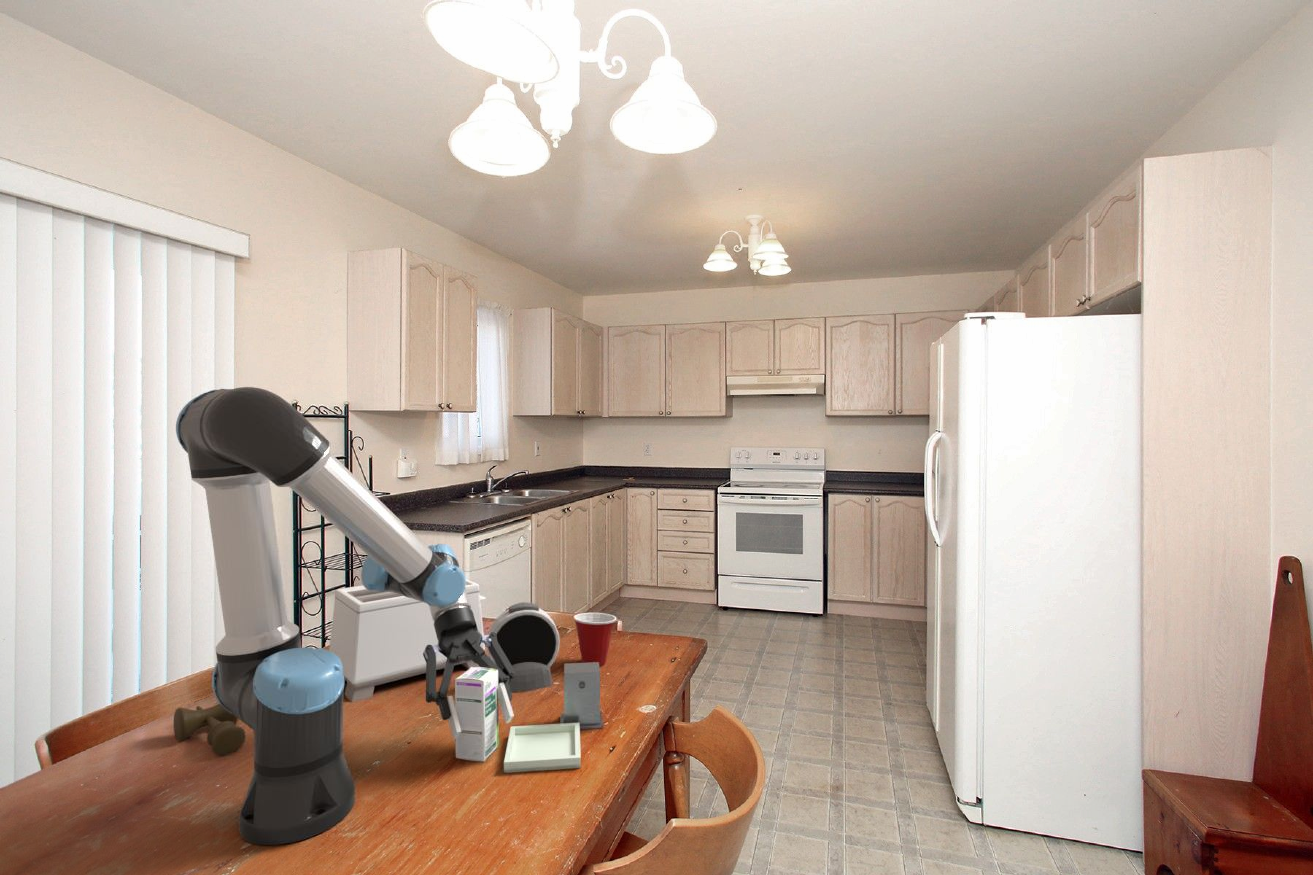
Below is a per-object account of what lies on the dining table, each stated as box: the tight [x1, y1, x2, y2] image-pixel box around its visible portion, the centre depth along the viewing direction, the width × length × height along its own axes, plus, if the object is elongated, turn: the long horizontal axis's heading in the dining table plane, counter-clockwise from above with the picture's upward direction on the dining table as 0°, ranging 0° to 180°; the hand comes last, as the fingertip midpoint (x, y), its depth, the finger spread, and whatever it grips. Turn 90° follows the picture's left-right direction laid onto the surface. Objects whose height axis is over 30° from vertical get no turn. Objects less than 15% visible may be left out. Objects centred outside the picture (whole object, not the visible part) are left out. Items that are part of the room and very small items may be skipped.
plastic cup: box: [573, 612, 617, 668], centre depth 156 cm, size 11×11×12 cm
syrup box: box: [454, 667, 500, 763], centre depth 112 cm, size 6×6×14 cm
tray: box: [503, 723, 582, 774], centre depth 113 cm, size 13×13×2 cm
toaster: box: [328, 578, 486, 703], centre depth 151 cm, size 19×34×21 cm, turn 132°
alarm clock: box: [486, 601, 561, 693], centre depth 143 cm, size 16×10×18 cm, turn 109°
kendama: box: [173, 703, 246, 757], centre depth 117 cm, size 6×10×20 cm
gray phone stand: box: [559, 662, 604, 730], centre depth 124 cm, size 8×6×11 cm
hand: (484, 727), depth 109 cm, fingers open, 9 cm apart
